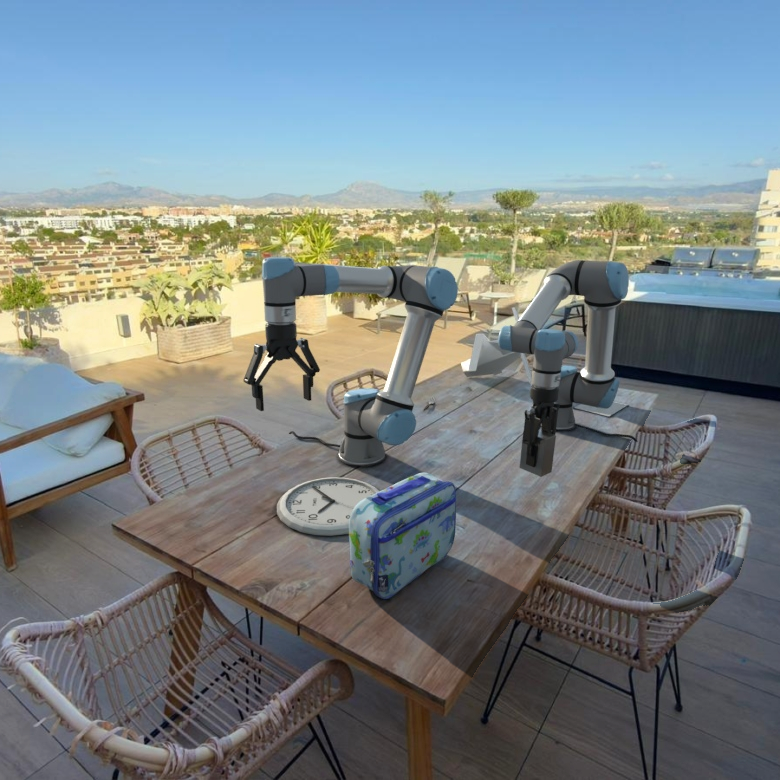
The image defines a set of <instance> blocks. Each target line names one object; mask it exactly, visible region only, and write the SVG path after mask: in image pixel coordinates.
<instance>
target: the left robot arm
mask: <svg viewBox="0 0 780 780" xmlns="http://www.w3.org/2000/svg"><path fill="white" fill-rule="evenodd" d="M261 279H262V290H263V309H264V311H263V312H264V321H265V322H266V323H265V324H264V329H265V331H264V332H265V339H266V340H265V341H266V342H265V344H258V343H255V344H254V345H253V355H252V356H251V359H250V362H249V364H248V367H247V370H246V372H245V375H244V377H243V381H242V382H243V383H245V384H247V385H248V386H251V396H252V398H254V399H255V408H256V410H258V411H260V412H265V405H264V404H265V403H264V388H263V385H262V384H261V383H262V382H263V380H264V378H265V377H266V375H267V373H268V372H269V371H270V369H271V368H272V366H273V364H275V363H276V362H277V361H278V362H279V361H281V362H282V361H284V360H293V362H295V364H297V366H298V367H299V368H300V369H301V370H302V371H303V372H304V374H302V389H303V391H302V393H303V399H304V400H305V401H308V402H310V401H312V388H313V387H314V377H315V376H316V373H320V371H321V369H320V366H319V365H318V363H317V361H316V359H315V356H314V355H313V352H312V351H311V349H310V346H309V340H308V339H306V338H304V337H303V338H302V337H300V338H298V339H297V336H298V333H297V332H298V331H297V323H296V321H297V309H296V308H297V307H296V304H297V303H296V300H297V299H296V298H298V297H299V298H300V297H308V296H309V297H312V296H327V295H333V294H336V293H345V294H347V293H348V294H367V295H370V294H371V295H377V296H378V297H379V298H384V299H391V300H396V301H399V302H404V303H405V304H404V308H405V310H406V312H407V314H406V317H405V320H404V324H403V327H402V330H401V333H400V337H399V340H398V343H397V346H396V349H395V353H394V355H393V359H392V362H391V366H390V369H389V372H388V375H387V379H386V381H385V384H384V387H383V389H382V390H381V391H380V389H377V388H371V387H370V388H368V387H367V388H356V389H351V390H349V391H347V392H346V393H345V394H344V395H343V403H342V405H343V437H342V440H341V444H336V443H330V442H326V441H324V440H323V439H321V438H319V437H316V436H302V435H301V436H300V435H298V434H296V432H295V431H294V430H291V431H289V432H288V435H291V434H292V435H293V436H294V437H295V438H296V439H301V440H315V441H319V442H320V443H321V444H322V445H325V446H329V447H337V448H339V450H338V460H339V461H340V462H342V463H343V464H345V465H348V466H350V467H361V468H362V467H371V466H372V467H373V466H375V465H379V464H380V463H382V462H383V461H384V460H385V459H386V451H385V446H384V444H387V445H389V446H400V445H402V444H404V443H405V442H407V441H408V440H409V439H410V438H411V437H412V436H413V434H414V432H415V430H416V426H417V419H416V416H415V414H414V412H413V410H414V406H415V404H414V403H415V402H414V401H413V399H412V396H413V393H414V390H415V387H416V384H417V380H418V378H419V374H420V371H421V367H422V365H423V362H424V358H425V355H426V352H427V349H428V346H429V342H430V339H431V336H432V333H433V330H434V326H435V324H436V322H438V320H441V319H442V318H443V314H444V312H445V311H447V310H449V309H450V308H452V307H453V306H454V304H455V303H456V301H457V298H458V294H459V293H458V292H459V291H458V289H459V288H458V282H457V280H456V278H455V276H454V274H453V273H452V272H451V271H450V270H449V269H447V268H443V267H438V266H424V265H417V264H416V265H415V264H405V265H381V266H379V267H378V268H375V267H363V266H362V267H361V266H349V265H336V264H324V263H312V262H300V261H299V262H298V261H295V260H294V258H293V257H286V256H281V257H280V256H279V257H278V256H270V257H265V258H264V259H263V260H262V266H261ZM298 348H300V351H301V352H302V354H303V356H304V358H305V360H306V362H307V363H306V362H305V361H304V359H302V358H301V356H300V354H299V353H298V352H297V351H296V350H297V349H298ZM266 352H267V353H266ZM265 353H266V355H265V356H264V354H265ZM263 356H264V359H263ZM262 359H263V361H262ZM261 362H262V363H261Z"/></svg>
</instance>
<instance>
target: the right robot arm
mask: <svg viewBox="0 0 780 780" xmlns="http://www.w3.org/2000/svg"><path fill="white" fill-rule="evenodd" d="M629 287H630V276H629V270H628V267H627V265H626V264H624V263H623V262H619V261H612V260H609V261H608V260H583V259H577V260H571V261H568V262H565V263H563V264H561V265H560V266H557V267H556V268H555V269H553V270H551V272H550V273H549V274H548V275H546V277H545V278H544V280H543V281H542V284H541V289H540V290H539V292H538V293H537V294H536V295H535V296H534V298H533V299H532V301H531V303H530V304H529V305H528V306H527V308H526V309H525V310H524V311H523V313H522V314H521V315H520V316H519V320H518V321H517V322H516V321H515V324H513V325H511V324H510V325H504V326H501V328H500V330H499V332H498V337H497V340H498V342H499V346H500V348H501V349H503V350H508V351H511V352H519V353H526V354H525V355H527V354H528V355H532V356H533V355H534V356H533V363H532V364H533V365H532V370H531V374H532V379H531V383H532V384H533V385H532V386H531V385H530V390H529V391H530V392H529V398H530V400H531V401H532V404H531V409H529V410H527V409H525V411H523V412H524V423H523V424H524V426H523V431H524V432H523V431H522V439H523V441H521V443H522V442H523V443H524V444H527V453H526V454H527V456H526V464H527V465H529V466H532V467H535V463H536V454H537V445H536V441H537V437H538V434H539V430H542V431H545V432H548V433H551V434H554V435H556V434H557V432H567V431H572V430H574V429H575V428H580V429H584V430H587V431H591V432H594V433H597V434H599V435H601V436H604V437H605V436H606V437H620V438H629V439H631V440H633V441H634V442H636V443H638V440H637V438H635V436H633V435H631V434H621V433H606V432H604V431H600V430H597V429H595V428H591V427H588V426H584V425H582V424H578V423H576V418H575V417H576V416H575V413H574V407H573V405H574V404H578V405H580V404H583V405H588V406H593V407H596V408H604V409H607V408H609V407H610V406H611V405H612V403H613V401H614V402H615V399H616V396H617V394H618V391H619V387H620V379H619V378H617V377H615V376H616V373H615V371H614V370H613V368H612V358H613V345H614V344H613V343H614V333H615V320H616V308H617V307H618V306H619V305H621V303H622V300H624V299H626V298H627V295H628V292H629ZM569 296H578V297H579V296H580V297H583V303H584V305H585V306H587V307H588V308H587V310H588V311H587V329H586V343H585V362H584V363H585V364H584V367H583V368H581V370H580V372H579V371H578V368H577V366H573V365H563V361H564V360H565V359H567V358H570V357H571V356H572V355H573V354H574V353H575V352H577V350H578V347H579V339H578V336H577V335H576V334H575V333H574V332H572V331H570V330H560V329H553V328H545V329H544V327H545V325H546V323H547V322H548V321H549V319H550V318H551V316H552V315H553V314H554V312H555V310H556V309H557V308H558V306H559V305H560V303H561V302H562V301H564V300H566V299H568V297H569Z"/></svg>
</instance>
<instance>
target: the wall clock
mask: <svg viewBox="0 0 780 780" xmlns="http://www.w3.org/2000/svg"><path fill="white" fill-rule="evenodd" d="M380 491H381V490H380V489H379V488H377V487H376V486H374V485H372V484H371V483H369V482H365V481H362V480H359V479H355V478H349V477H338V476H337V477H335V476H333V477H332V476H331V477H322V478H317V479H312V480H307V481H305V482H302V483H299V484H297V485H295V486H293V487H292V488H290V489H288V490H287V491H286V492H285V493H284V494H283V495H281V496H280V498H279V499H278V502H277V503H276V515H277V517H278V518H279V520H280V521H281V522H282V523H283V524H285V525H286V526H287V527H288V528H290V529H293V530H295V531H297V532H299V533H303V534H308V535H312V536H327V537H328V536H329V537H331V536H332V537H333V536H342V535H349V520H350V515H351V513H352V511H353V509H354V507H355V506H356V505H357V504H358V503H359V502H360V501H362V500H363V499H365V498H367V497H370V496H372V495H374V494H376V493H378V492H380Z"/></svg>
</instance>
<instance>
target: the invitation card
mask: <svg viewBox="0 0 780 780" xmlns="http://www.w3.org/2000/svg"><path fill="white" fill-rule="evenodd" d="M628 406H629V404H627V403H623V402H618V401H615V400H614V401H613V403H612V405H611V406H610V407H609V408H607V409H604V408H596V407H593V406H588V405H583V404H578V405H575V406H574V407H573V409H575V410H581V411H584V412H587V413H593V414H596V415H600V416H604V417H608V418H609V417H611V416H613V415H614V414H616V413H617V412H619V411H621V410H623V409H624V408H626V407H628Z"/></svg>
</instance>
